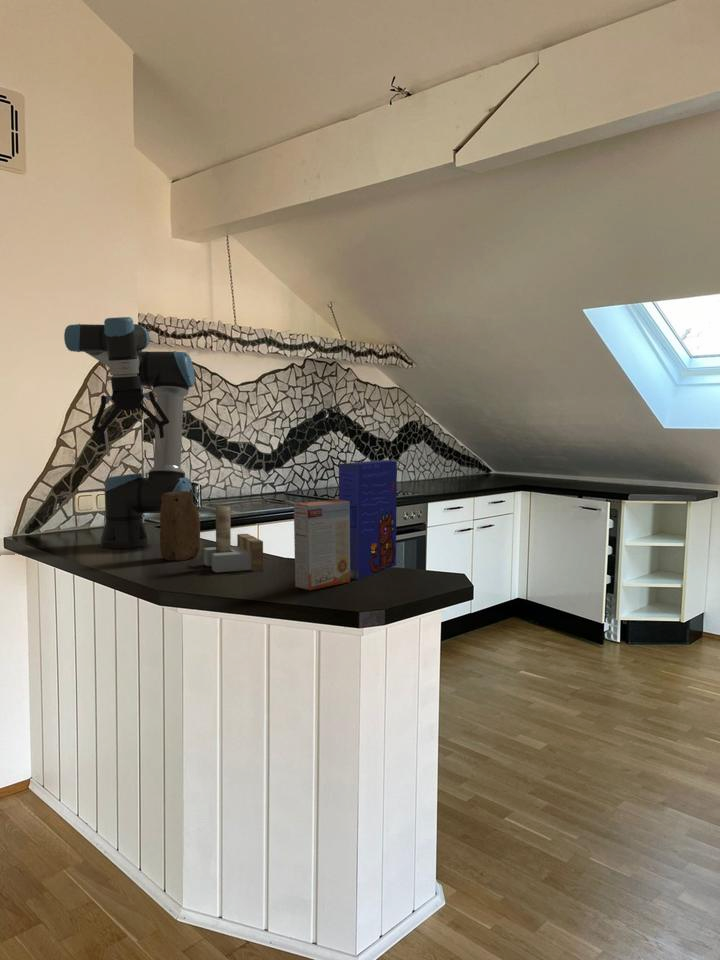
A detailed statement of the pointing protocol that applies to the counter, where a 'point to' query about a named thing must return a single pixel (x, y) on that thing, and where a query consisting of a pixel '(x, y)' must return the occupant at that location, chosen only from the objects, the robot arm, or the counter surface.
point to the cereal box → (370, 514)
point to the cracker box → (322, 544)
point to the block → (179, 526)
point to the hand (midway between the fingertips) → (134, 452)
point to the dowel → (223, 529)
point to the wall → (252, 549)
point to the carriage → (228, 559)
